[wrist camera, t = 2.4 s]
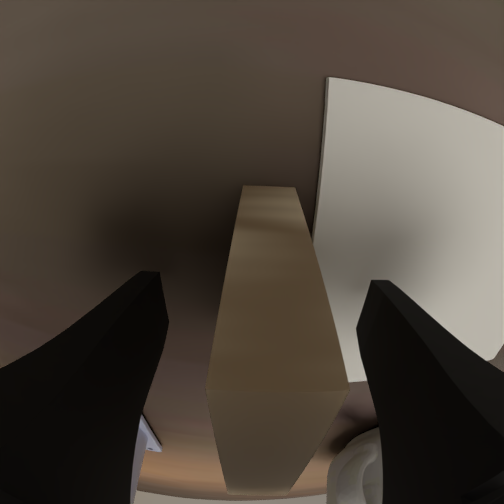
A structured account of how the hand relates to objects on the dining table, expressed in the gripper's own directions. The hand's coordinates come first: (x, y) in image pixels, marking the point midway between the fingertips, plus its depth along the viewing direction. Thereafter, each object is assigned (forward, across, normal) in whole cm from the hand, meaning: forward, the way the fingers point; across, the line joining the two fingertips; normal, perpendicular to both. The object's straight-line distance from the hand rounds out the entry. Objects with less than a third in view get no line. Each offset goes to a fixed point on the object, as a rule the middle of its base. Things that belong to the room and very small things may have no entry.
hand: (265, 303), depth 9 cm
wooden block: (+2, 0, 0) cm, 2 cm away
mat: (+2, -8, 0) cm, 9 cm away
